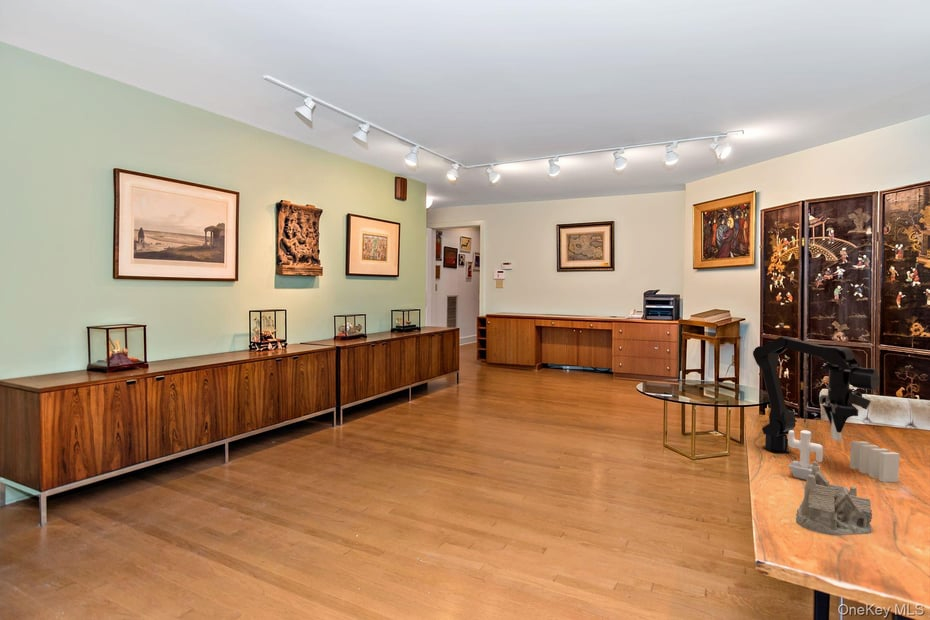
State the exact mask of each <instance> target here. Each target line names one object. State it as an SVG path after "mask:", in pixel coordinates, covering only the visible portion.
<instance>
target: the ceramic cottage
mask: <svg viewBox="0 0 930 620" xmlns="http://www.w3.org/2000/svg"><path fill="white" fill-rule="evenodd" d="M811 464H812V465H813V466H812V473H813V474H812V475H808V478H807V480H805V481H806V482H805V484H804V493H803V499H802V500H801V503H800V505H799V507H798V509H796V513H795V514H796V515H795V516H796V517H795V523H796V524H797V525H798V526H800V527H802V528H804V529H806V530H807V531H808V530H809V531H812V532H814V533H815V532H816V533H819V534H825V535H831V536H845V535H846V536H849V535H850V536H853V535H869V534H871V533H872V532H873V530H872V529H873V528H872V525H871V524H870V523H871V522H872V519H873V511H872V507H871V506H872V504H871V499H870V498H866V497H861V496H857V495H858V494H857V493H858V492H857V490H858V489H857V487H856V486H854V485H851V486H849V489H848V488H847V487H846V486H845V485H842V486H841V485H838V484H837V485H836V484H831V483H830V481H828V479H827V478H826V477H825V476H824V474H823V473H822V471H821V470H820V468H819V466H820V465H819V462H818V461H817V460H816V461H812V462H811Z"/></svg>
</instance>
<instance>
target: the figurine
mask: <svg viewBox="0 0 930 620" xmlns="http://www.w3.org/2000/svg"><path fill="white" fill-rule="evenodd" d="M799 433H800V435H799V436H800V440H799V439H796V436H795V430H794V429H793V430H790V431H789V433H788V434H787V439H788V446H789V447H790V448H792V449H797V450H799V451H800V452H799V453H800V454H799V461H798V460H793V461H792V462H791V463H790V464H788V468H789V470H790V472H791V473H792V477H794V478H797V479H801V480H805V481H807V478H808V475H812V474H813V473H812V466H813V465H812V463H810V456H811V455H810V454H811V453H815V455H816V457H815V460H816V462H817V463H822V462H823V459H824V446H823V445H821V444H820V443H814V442H811V438H812V432H811V431H810V430H806V429H803V430H801V431H800V432H799ZM818 466H819V469H820V468H821V466H820V465H818Z"/></svg>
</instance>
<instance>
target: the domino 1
mask: <svg viewBox="0 0 930 620" xmlns="http://www.w3.org/2000/svg"><path fill="white" fill-rule="evenodd" d="M842 435H843V431H842V432H841V433H840V432H837V431H836V428H835V425H834V422H833V419H832V423H831V424H830V437H831V438H832V440H834V441H835V442H842V439H843V438H842Z"/></svg>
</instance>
